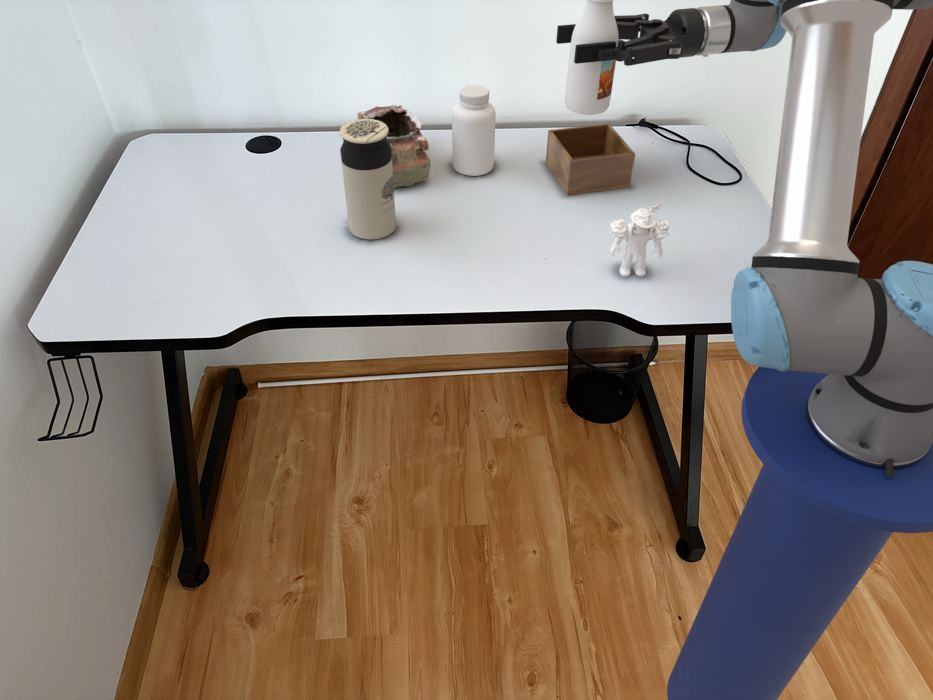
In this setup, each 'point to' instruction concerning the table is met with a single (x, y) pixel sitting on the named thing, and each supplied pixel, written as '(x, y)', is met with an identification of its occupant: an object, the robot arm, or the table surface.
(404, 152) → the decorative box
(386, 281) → the table surface
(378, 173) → the travel mug
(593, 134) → the wooden box
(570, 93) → the milk bottle
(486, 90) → the pill bottle
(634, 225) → the flower shoulder figurine
